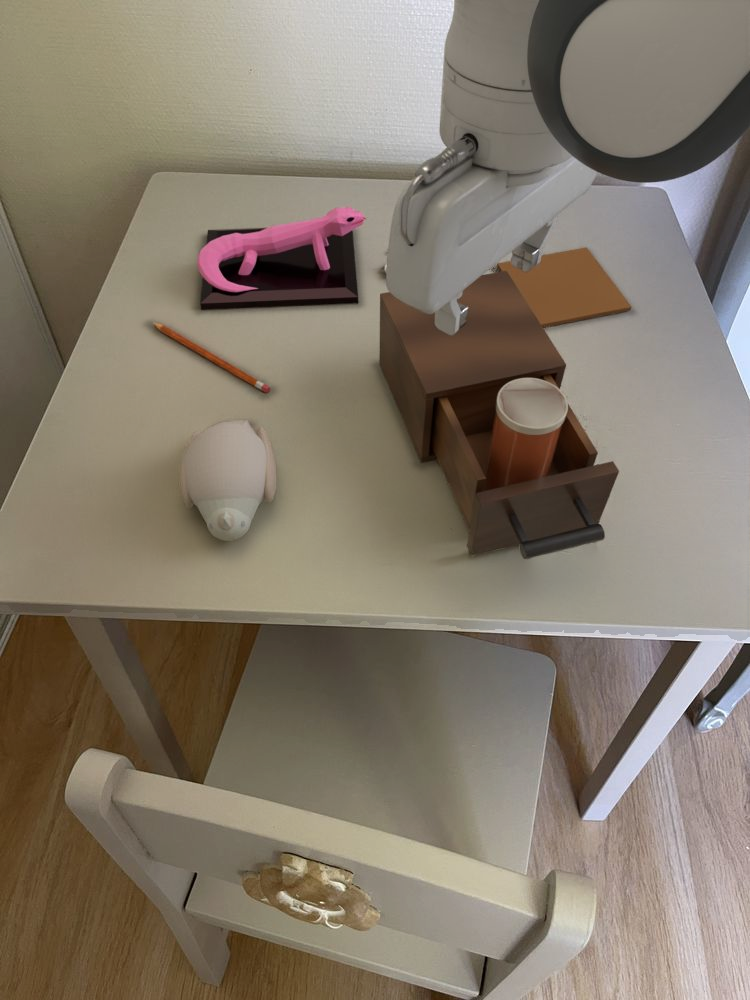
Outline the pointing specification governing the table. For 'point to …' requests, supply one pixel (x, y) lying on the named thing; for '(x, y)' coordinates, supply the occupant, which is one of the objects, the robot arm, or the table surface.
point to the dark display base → (281, 264)
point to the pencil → (213, 358)
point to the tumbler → (524, 432)
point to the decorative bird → (228, 476)
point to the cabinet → (461, 351)
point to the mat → (567, 288)
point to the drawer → (527, 505)
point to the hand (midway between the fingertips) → (488, 295)
